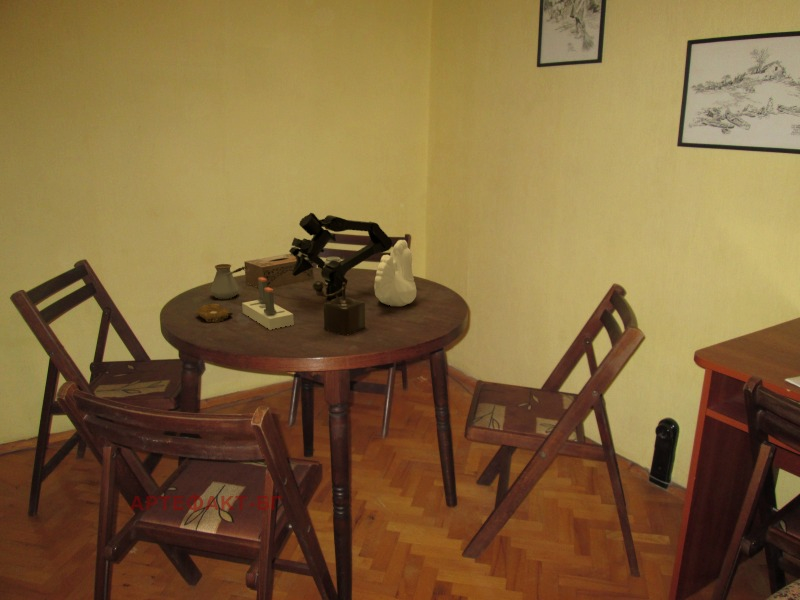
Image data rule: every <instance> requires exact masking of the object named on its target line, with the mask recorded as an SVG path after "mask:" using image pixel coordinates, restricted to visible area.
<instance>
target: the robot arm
mask: <svg viewBox="0 0 800 600" xmlns="http://www.w3.org/2000/svg"><path fill="white" fill-rule="evenodd" d="M298 225H299V226H300V227H301V229H302V230H304V231H305V232H306V233H307V234H308V235H309V236H313V237H311V239H307V238H302V239H299V238H296V237H293V239H292V242H291V246H292V247H291V248H290V249H289V250H288V252H289V254H293V255H294V256H295V257H296V260H297V261H296V265H295V268H294V270H293V273H292V275H294V276H296V275H298V274H300V273H302V272H304V271H306V270H308V269H310V268H313V269H314V264H315V265H316V266H317V268H318V269H320V270H321V272H320V274H321V277H322V279H323V280H324V283H325V282H326V283H328V284H327V285H326V288H325V292H326V293H325V295H329V294H333V293H335V292H337V291H339V290H340V289H341V288H342V286H343V285H342V283H343V282H345V283H346V285H347V283H348V279H347V278H346V277H345V276H346V274H347V272H349V271H350V270H352V269H353V268H354V267H356V266H358V265H360V264H361V263H363V262H364V261H366V260H367V259H369V258H370V257H372V256H374V255H377V254H382V253H385V252H388V251H390V250H391V249H392V245H393V241H392V239H391V238H390V237H389V236H388V235H387V233H386V232H385V231H384V230H383V229H382V228H381V226H380V225H379V224H378V223H377V222H374V221H363V220H362V221H360V220H352V219H351V220H350V219H345V218H342V217H339V216H336V215H335V216H334V215H333V214H332V215H331V214H330V215H329V214H328V215H326V217H324V218H322V219H319V218H318V217H317V216H316V214H314V213H313V212H310V213H309V214H307V215H305V216H304V217H302V218H301V219H300V220H299V224H298ZM330 231H331V232H334V233H331V232H330ZM345 231H359V232H360V231H361V232H367V233H368V237H369V238H370V240H369V241H368V243H367V244H366V245H365V246H363V247H361V249H359V250H356V251H355V252H354V253H352V254H350V255H348V256H347V257H345V258H344V259H342V260H341V261H340V262H337V261H334V260H332V261H331V262H329V263H328V264H325V260H323V259H322V258H321V257H320V256H319V255H320V253H321V254H322V253H324V252H325V250H324V249H325V247H326V246H327V245H328V243H329V242H330V241H332V242H336V241H337V239H336V234H335V233H339V232H345ZM337 295H338V297H341V296H343V291H342V292H341V293H339V294H337ZM333 299H336V295H335V296H332V297H326V299H325V301H329V302H330V301H331V300H333Z"/></svg>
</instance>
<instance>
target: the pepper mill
mask: <svg viewBox="0 0 800 600" xmlns="http://www.w3.org/2000/svg"><path fill="white" fill-rule="evenodd" d="M324 283H325V282H324V281H321V280H316V281H315V282H313V283H312V286H311V287H312V289H313V290H314V291H315V295H316V296H317V297H324V298H327V297H332V296H335V295H336V299H333V300H331V301H330V300H329V301H327V302H325V303H323V329H324V330H326V331H328V330H329V331H328V332H331V331H332V332H331V333H334V332H336V333H335V334H338V333H339V334H338V335H342V334H344V335H343V336H348V335H347V334H349V335H351V334H353V332H354V333H356V332H358V330H359V331H361V330H362V329H365V328H366V308H365V306H366V302H364V301H361V300H356V299H353V298H350V297H348V296H347V295H346V289H347V284H346V283H345V282H343V283H342V285H343V286H342V288H341V289H340V290H339V291H337V292H335V293H333V294H329V295H326V293H325V292H324V288H325V284H324ZM342 291H343V296H341V297H338V295H337V294H339V293H341V292H342ZM360 329H361V330H360ZM355 331H356V332H355ZM350 333H351V334H350Z"/></svg>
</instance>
